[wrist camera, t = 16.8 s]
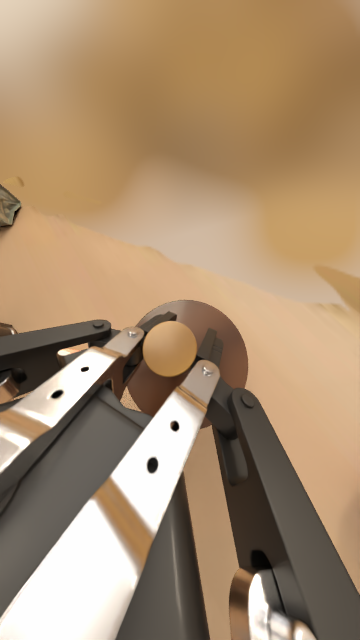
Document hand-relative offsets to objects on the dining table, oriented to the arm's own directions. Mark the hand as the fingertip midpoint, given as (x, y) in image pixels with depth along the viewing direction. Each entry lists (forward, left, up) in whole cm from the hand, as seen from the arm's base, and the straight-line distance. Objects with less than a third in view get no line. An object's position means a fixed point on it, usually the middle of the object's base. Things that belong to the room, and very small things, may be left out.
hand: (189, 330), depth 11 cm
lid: (+1, -2, -4) cm, 4 cm away
